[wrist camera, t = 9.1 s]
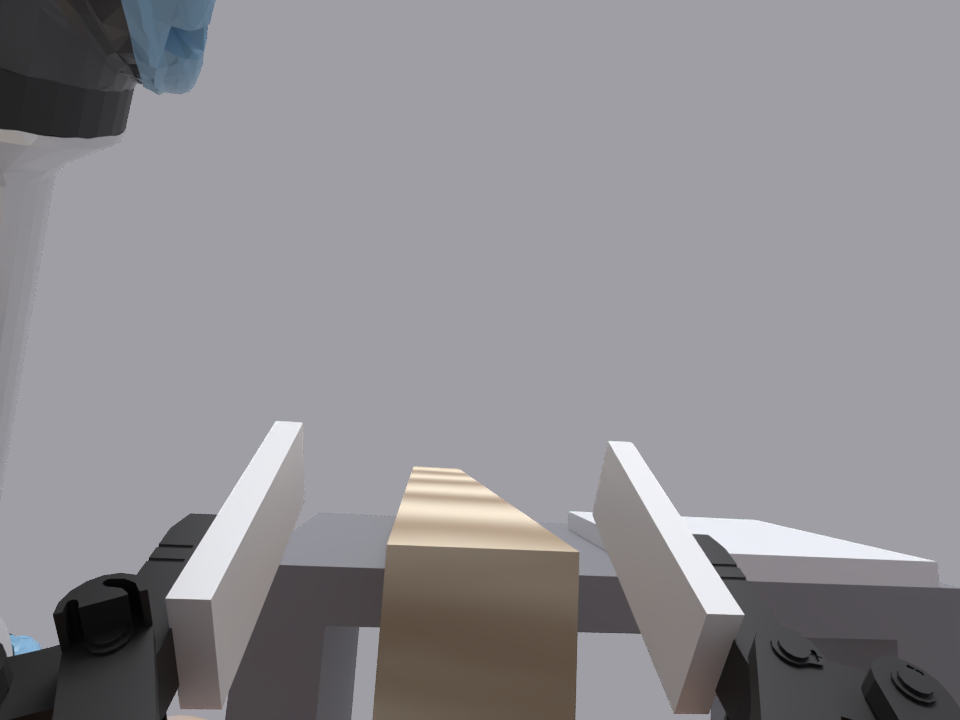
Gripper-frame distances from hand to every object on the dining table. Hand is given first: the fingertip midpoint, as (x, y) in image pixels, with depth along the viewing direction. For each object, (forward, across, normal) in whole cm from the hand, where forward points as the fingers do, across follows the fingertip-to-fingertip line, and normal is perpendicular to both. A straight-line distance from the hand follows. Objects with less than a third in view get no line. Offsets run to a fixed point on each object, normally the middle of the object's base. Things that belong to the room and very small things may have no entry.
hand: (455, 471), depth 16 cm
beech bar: (+3, 0, -6) cm, 7 cm away
